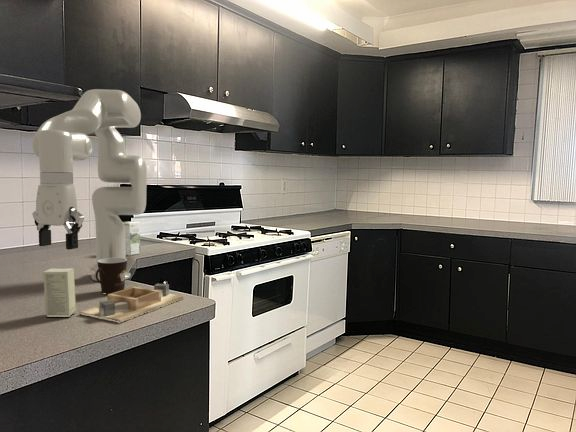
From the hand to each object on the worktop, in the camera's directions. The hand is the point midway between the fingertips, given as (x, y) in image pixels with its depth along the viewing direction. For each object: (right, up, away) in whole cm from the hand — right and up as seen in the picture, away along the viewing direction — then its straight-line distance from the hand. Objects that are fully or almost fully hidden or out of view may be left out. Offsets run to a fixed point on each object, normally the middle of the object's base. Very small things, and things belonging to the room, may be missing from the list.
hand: (58, 247), depth 121 cm
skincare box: (0, -18, +2) cm, 18 cm away
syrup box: (-11, -9, +88) cm, 89 cm away
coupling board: (+16, -17, +11) cm, 26 cm away
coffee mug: (+4, -16, +24) cm, 29 cm away
